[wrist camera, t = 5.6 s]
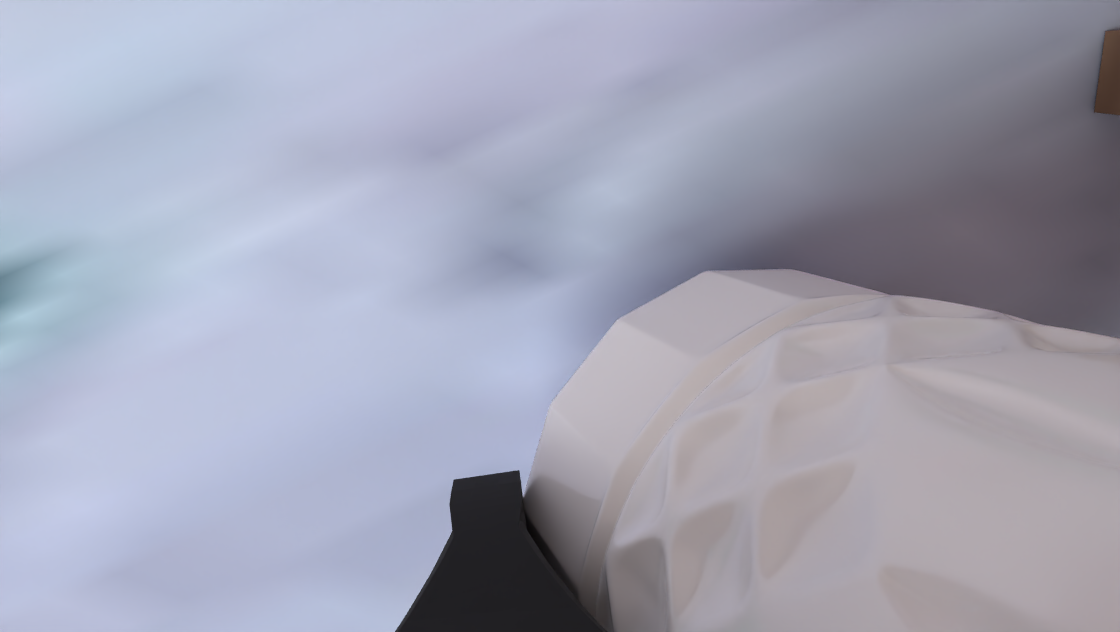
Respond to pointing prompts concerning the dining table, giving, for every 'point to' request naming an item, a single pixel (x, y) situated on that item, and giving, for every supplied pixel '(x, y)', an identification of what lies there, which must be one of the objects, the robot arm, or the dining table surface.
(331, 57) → the dining table surface
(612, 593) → the white cup
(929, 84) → the dining table surface
